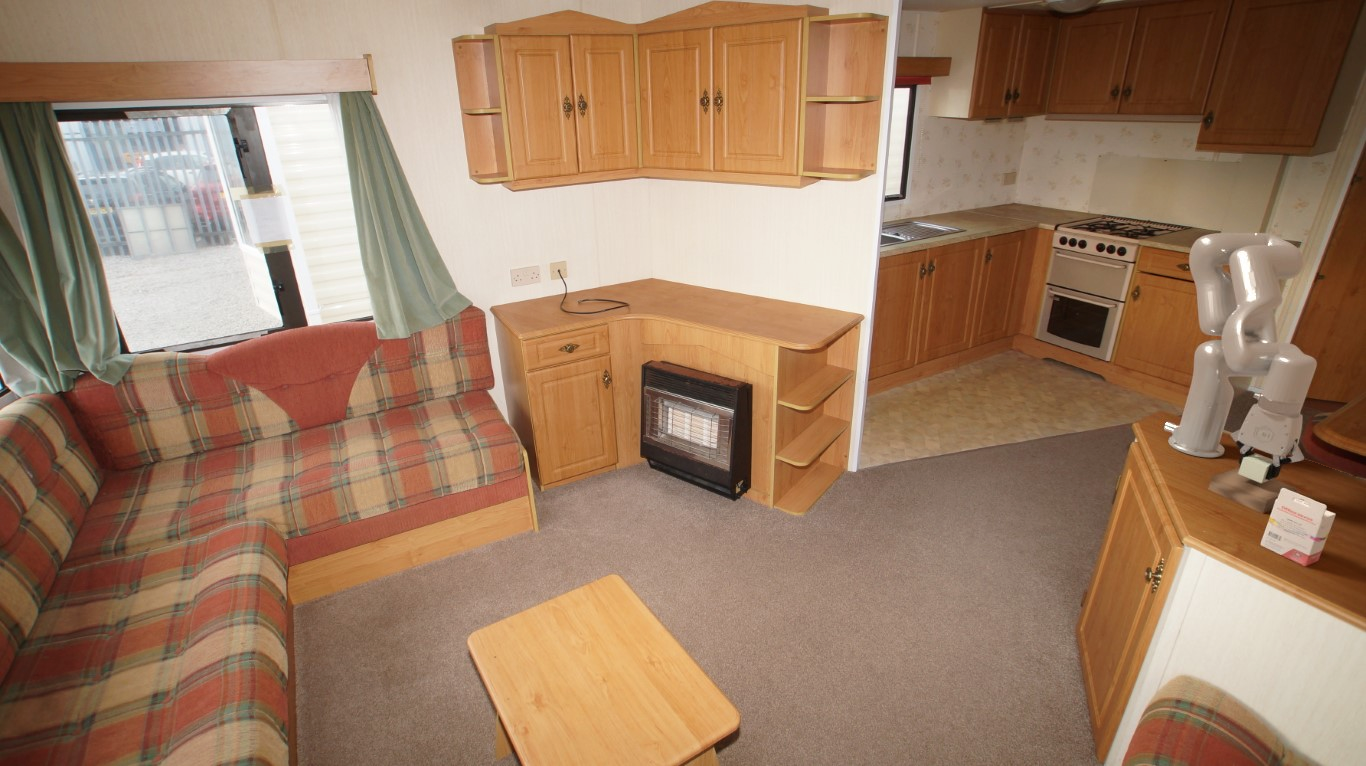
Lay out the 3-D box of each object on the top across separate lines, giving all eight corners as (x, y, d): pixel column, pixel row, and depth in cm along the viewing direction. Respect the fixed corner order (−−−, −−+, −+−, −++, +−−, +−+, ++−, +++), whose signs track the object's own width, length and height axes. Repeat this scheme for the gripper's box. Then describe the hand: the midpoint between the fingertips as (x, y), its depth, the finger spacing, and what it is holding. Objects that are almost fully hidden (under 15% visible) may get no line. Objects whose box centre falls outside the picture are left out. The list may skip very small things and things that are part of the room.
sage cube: (1238, 473, 162) (1243, 457, 160) (1250, 469, 164) (1255, 453, 162) (1261, 483, 158) (1267, 466, 156) (1273, 478, 160) (1279, 462, 158)
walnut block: (1207, 490, 166) (1211, 476, 164) (1237, 479, 170) (1241, 466, 169) (1262, 514, 156) (1267, 500, 154) (1292, 502, 160) (1297, 488, 158)
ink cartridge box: (1319, 561, 139) (1343, 501, 133) (1304, 567, 137) (1328, 507, 132) (1272, 539, 146) (1293, 481, 141) (1258, 544, 145) (1279, 486, 139)
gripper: (1229, 395, 160) (1209, 461, 166) (1315, 422, 145) (1289, 493, 152) (1248, 389, 162) (1227, 454, 169) (1334, 415, 148) (1307, 485, 155)
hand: (1257, 472), depth 160 cm, fingers closed on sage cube, 4 cm apart
